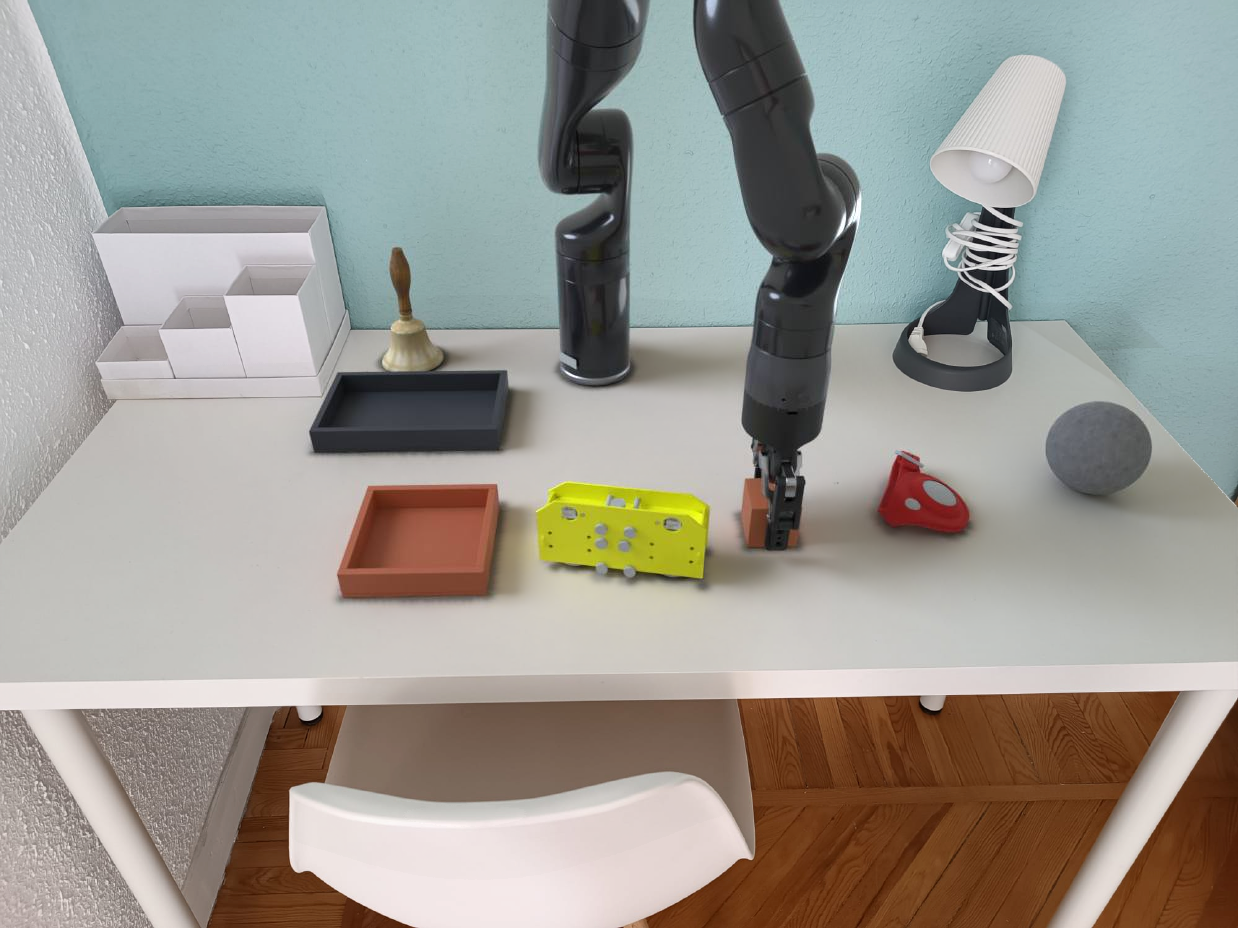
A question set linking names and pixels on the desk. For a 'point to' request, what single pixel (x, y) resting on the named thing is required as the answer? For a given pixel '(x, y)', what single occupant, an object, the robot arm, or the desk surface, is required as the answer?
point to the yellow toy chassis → (624, 529)
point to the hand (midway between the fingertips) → (768, 521)
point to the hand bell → (408, 327)
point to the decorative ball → (1098, 447)
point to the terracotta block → (758, 514)
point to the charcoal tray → (412, 411)
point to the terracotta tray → (421, 541)
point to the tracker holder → (921, 498)
